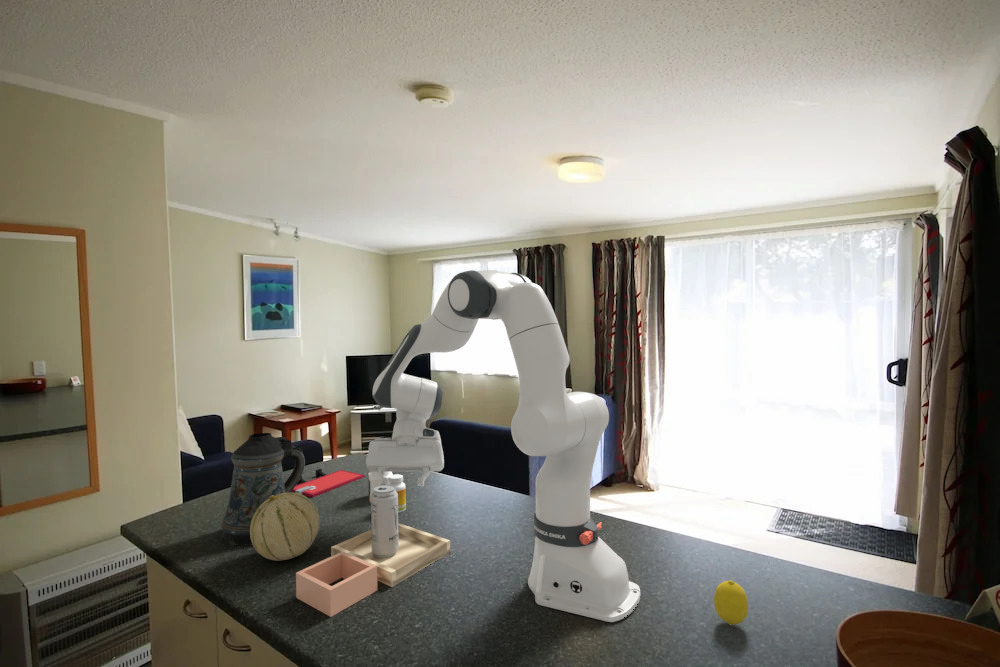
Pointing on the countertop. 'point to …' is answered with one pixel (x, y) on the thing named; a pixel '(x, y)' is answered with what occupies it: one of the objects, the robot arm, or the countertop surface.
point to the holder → (343, 594)
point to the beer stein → (257, 481)
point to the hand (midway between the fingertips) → (401, 485)
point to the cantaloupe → (284, 526)
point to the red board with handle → (325, 482)
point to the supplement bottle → (399, 490)
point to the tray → (398, 553)
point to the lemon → (731, 602)
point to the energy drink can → (384, 521)
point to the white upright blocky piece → (375, 481)
